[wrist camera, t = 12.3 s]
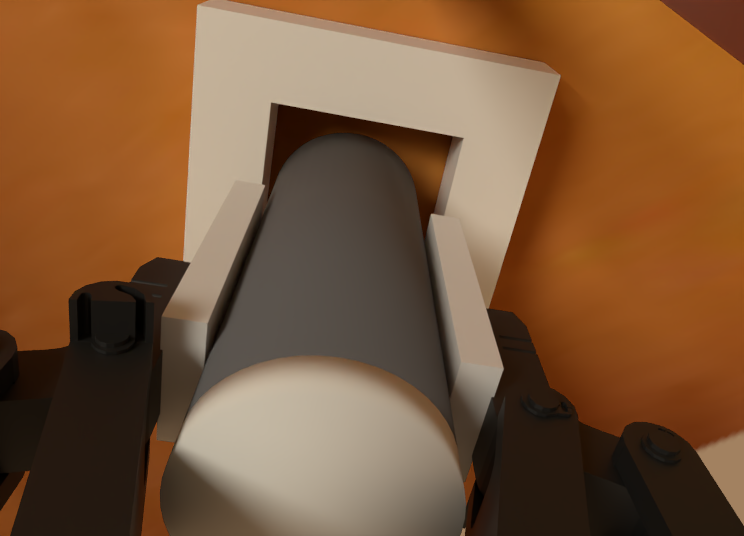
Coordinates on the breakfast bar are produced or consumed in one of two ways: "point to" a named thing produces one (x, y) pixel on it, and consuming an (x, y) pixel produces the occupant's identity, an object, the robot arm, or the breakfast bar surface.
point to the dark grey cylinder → (324, 369)
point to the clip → (715, 21)
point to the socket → (364, 112)
